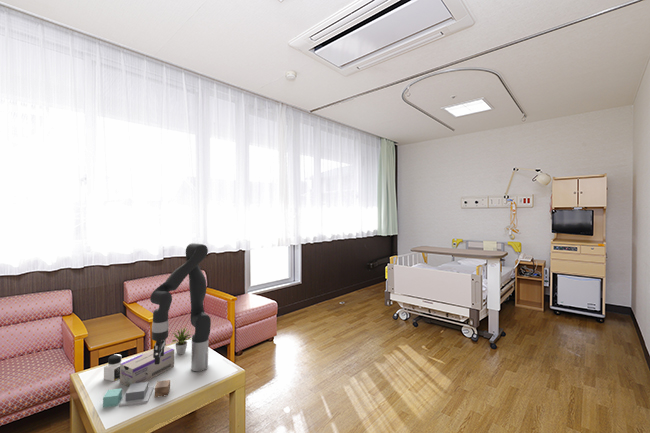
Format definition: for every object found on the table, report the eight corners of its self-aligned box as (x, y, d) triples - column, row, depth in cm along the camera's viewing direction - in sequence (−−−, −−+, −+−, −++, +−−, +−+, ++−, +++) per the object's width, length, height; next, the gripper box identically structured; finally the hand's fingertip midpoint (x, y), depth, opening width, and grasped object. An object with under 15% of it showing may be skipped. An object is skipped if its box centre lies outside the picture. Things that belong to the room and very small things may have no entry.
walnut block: (170, 389, 160) (170, 379, 159) (167, 395, 154) (167, 386, 154) (157, 390, 158) (157, 381, 158) (154, 397, 152) (154, 388, 152)
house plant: (175, 361, 187) (176, 335, 186) (163, 354, 194) (163, 329, 194) (196, 352, 199) (196, 328, 198) (183, 346, 206) (184, 322, 206)
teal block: (121, 398, 151) (122, 388, 151) (117, 405, 145) (117, 395, 145) (108, 399, 149) (108, 389, 149) (102, 407, 143) (103, 397, 143)
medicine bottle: (114, 381, 164) (114, 360, 163) (103, 379, 165) (103, 358, 165) (125, 374, 171) (125, 353, 170) (114, 372, 172) (115, 352, 172)
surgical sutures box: (132, 389, 158) (132, 369, 158) (119, 383, 163) (120, 363, 162) (174, 366, 181) (174, 349, 181) (161, 362, 185) (162, 345, 185)
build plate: (153, 388, 159) (153, 379, 159) (147, 402, 148) (147, 392, 148) (127, 391, 156) (127, 382, 156) (119, 406, 144) (119, 396, 144)
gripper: (164, 334, 150) (164, 366, 150) (171, 323, 164) (170, 352, 164) (148, 335, 148) (147, 367, 148) (155, 324, 162) (155, 353, 162)
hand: (159, 359), depth 156 cm, fingers open, 8 cm apart
